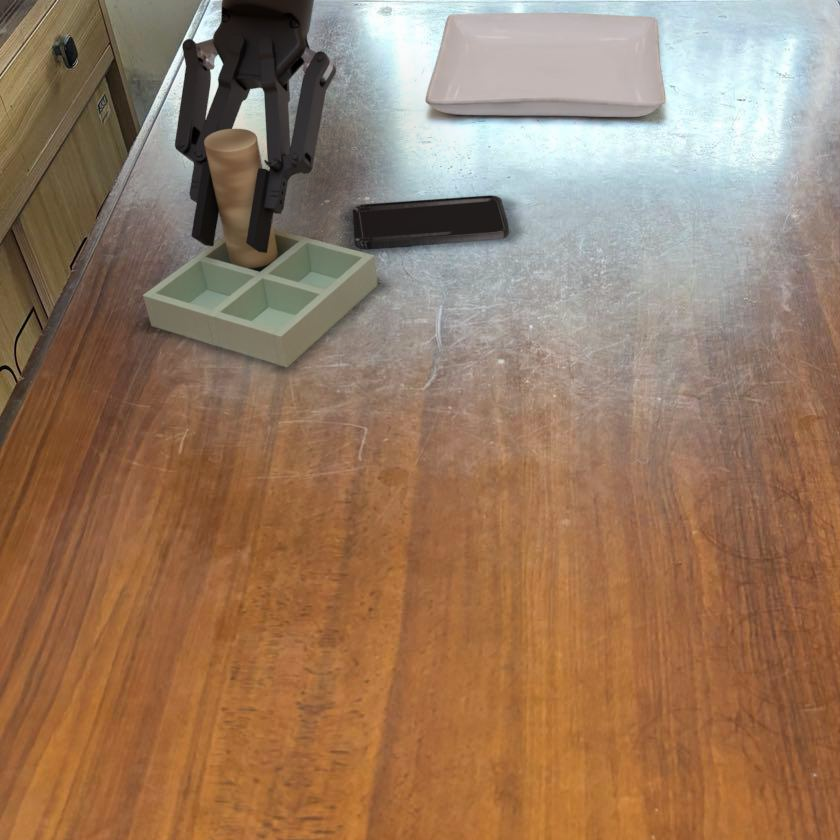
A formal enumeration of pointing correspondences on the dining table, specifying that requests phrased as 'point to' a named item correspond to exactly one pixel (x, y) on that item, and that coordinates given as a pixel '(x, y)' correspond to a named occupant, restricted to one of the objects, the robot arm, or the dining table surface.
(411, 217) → the phone
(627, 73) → the square plate
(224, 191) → the tan wooden cylinder
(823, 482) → the dining table surface
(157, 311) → the grid
